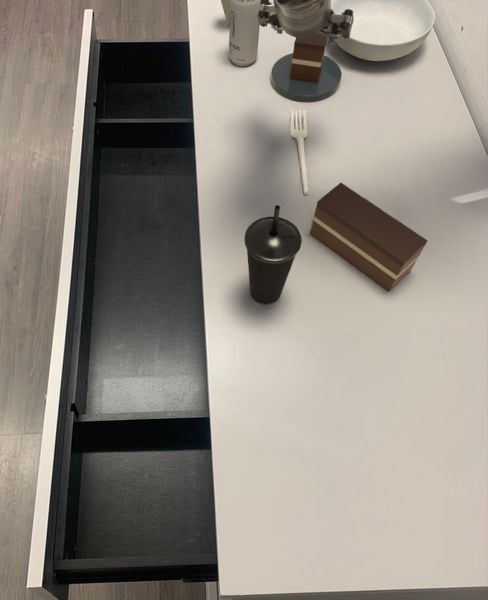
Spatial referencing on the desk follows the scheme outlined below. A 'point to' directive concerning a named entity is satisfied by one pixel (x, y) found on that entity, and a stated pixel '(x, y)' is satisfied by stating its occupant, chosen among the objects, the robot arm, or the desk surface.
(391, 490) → the desk surface
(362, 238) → the loaf cake
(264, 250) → the drinking cup
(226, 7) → the ice cream cone
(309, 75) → the cake slice
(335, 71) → the plate
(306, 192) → the fork
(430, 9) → the serving bowl
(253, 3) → the energy drink can
